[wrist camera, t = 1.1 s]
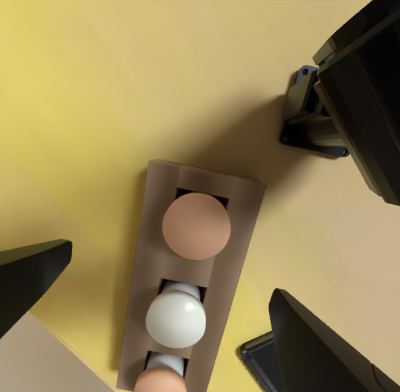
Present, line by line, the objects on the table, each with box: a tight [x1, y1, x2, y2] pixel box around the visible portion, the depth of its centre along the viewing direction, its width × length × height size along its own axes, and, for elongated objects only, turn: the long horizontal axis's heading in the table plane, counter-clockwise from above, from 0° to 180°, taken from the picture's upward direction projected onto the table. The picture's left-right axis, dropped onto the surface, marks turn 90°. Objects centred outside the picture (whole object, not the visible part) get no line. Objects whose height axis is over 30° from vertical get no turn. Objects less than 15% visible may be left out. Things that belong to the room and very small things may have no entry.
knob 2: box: [162, 193, 231, 260], centre depth 17 cm, size 5×5×4 cm
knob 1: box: [133, 351, 187, 392], centre depth 21 cm, size 5×5×4 cm
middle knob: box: [146, 280, 206, 348], centre depth 19 cm, size 5×5×4 cm
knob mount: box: [116, 159, 266, 392], centre depth 21 cm, size 10×26×3 cm, turn 168°
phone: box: [240, 331, 287, 392], centre depth 25 cm, size 8×1×15 cm
